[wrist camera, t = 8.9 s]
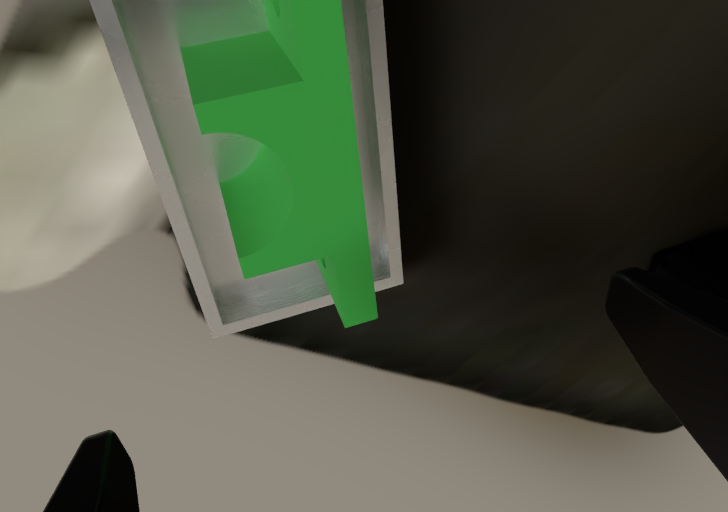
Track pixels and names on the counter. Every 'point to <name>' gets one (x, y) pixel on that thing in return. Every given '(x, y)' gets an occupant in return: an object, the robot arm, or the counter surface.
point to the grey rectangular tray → (243, 149)
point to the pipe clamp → (291, 147)
